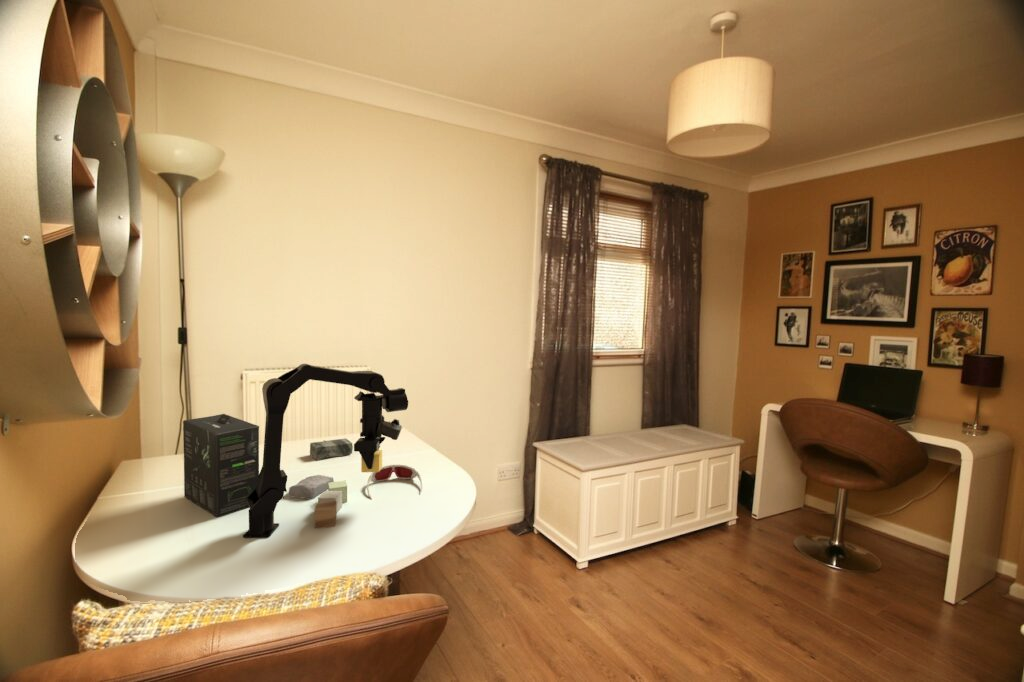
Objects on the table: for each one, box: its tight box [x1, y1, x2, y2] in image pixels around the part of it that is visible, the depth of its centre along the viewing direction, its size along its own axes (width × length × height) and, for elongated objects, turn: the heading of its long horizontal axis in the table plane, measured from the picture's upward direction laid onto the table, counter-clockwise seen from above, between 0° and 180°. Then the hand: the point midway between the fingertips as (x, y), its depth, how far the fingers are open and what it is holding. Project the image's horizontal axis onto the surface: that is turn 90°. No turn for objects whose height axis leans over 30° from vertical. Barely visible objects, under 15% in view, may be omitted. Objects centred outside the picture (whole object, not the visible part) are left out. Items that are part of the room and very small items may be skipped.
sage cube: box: [327, 480, 348, 504], centre depth 138 cm, size 5×5×5 cm
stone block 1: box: [309, 437, 354, 461], centre depth 180 cm, size 9×14×5 cm, turn 129°
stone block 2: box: [288, 474, 335, 499], centre depth 145 cm, size 12×5×10 cm
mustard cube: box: [360, 449, 383, 473], centre depth 134 cm, size 5×5×5 cm
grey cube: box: [317, 490, 343, 514], centre depth 130 cm, size 5×5×5 cm
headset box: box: [182, 413, 260, 518], centre depth 135 cm, size 22×12×26 cm, turn 56°
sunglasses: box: [366, 464, 423, 501], centre depth 149 cm, size 17×17×5 cm
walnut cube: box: [314, 501, 338, 529], centre depth 123 cm, size 5×5×5 cm
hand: (371, 465), depth 134 cm, fingers closed on mustard cube, 5 cm apart
